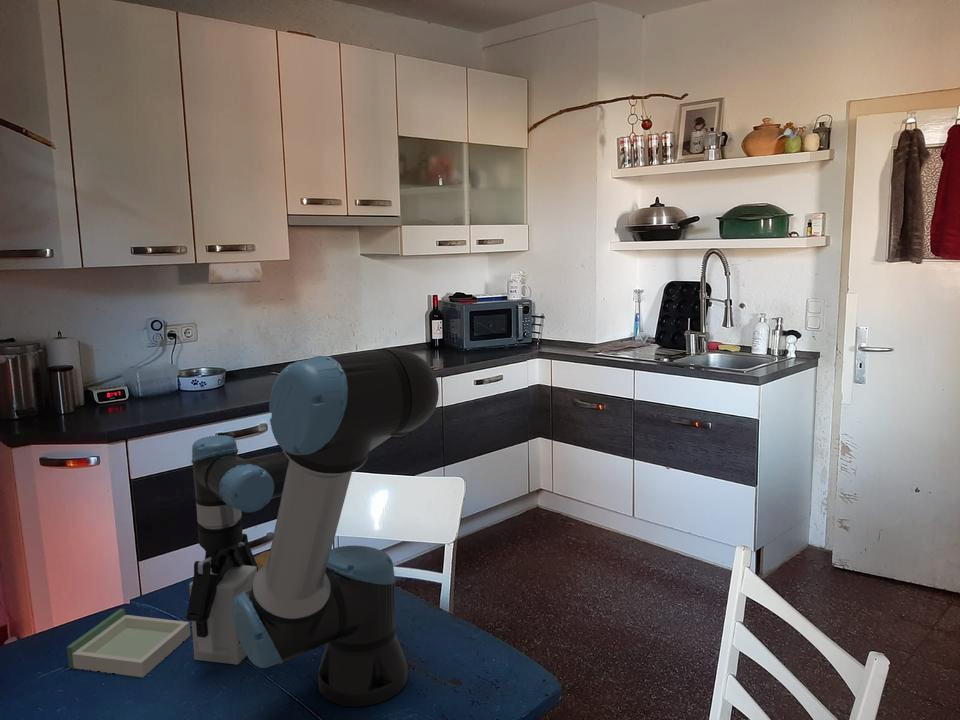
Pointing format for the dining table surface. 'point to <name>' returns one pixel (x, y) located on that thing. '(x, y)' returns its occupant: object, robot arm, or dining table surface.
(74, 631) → the dining table surface
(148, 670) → the shallow square tray
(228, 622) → the supplement box
